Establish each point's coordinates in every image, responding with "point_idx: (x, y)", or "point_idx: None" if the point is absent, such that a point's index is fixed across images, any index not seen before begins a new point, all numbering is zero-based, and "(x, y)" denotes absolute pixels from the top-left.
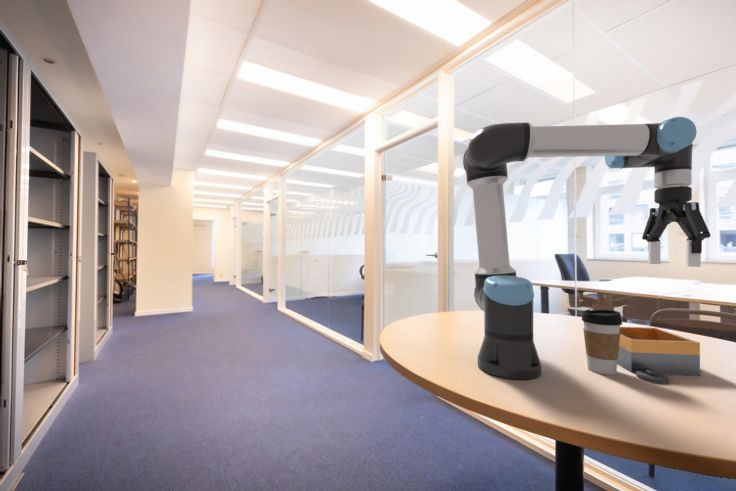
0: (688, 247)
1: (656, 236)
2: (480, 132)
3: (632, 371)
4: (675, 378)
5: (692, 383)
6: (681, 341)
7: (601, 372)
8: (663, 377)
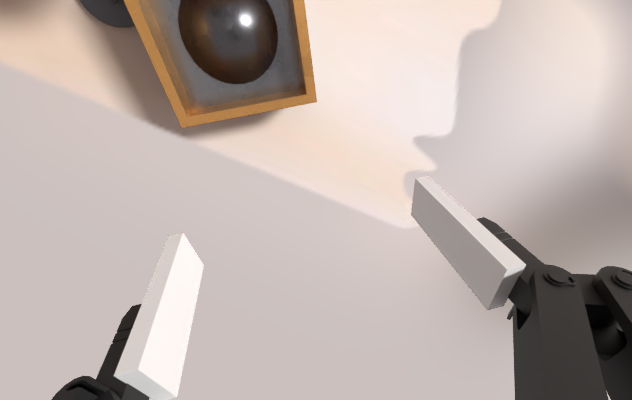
0: (134, 325)
1: (523, 335)
2: None
3: None
4: None
5: (132, 70)
6: (171, 92)
7: None
8: (103, 11)
